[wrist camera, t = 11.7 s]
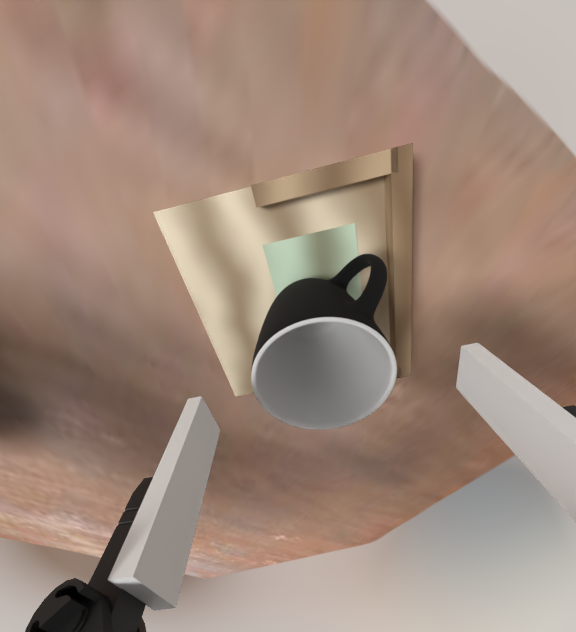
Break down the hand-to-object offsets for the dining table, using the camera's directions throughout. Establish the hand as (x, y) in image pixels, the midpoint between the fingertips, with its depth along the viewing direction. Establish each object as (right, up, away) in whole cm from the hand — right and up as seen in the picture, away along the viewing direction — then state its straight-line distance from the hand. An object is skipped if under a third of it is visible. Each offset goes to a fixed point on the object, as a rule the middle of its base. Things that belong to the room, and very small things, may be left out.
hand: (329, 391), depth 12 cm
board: (-1, +6, +13) cm, 14 cm away
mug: (+1, +6, +11) cm, 12 cm away
